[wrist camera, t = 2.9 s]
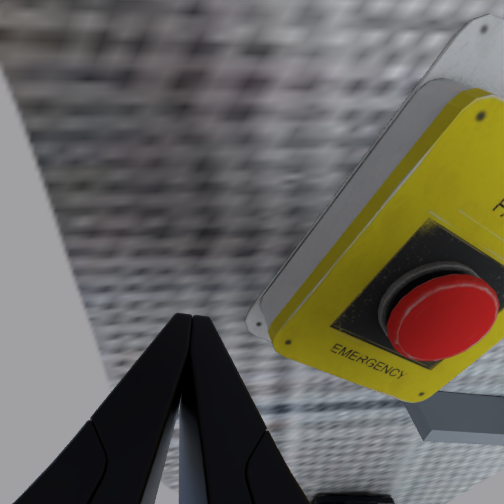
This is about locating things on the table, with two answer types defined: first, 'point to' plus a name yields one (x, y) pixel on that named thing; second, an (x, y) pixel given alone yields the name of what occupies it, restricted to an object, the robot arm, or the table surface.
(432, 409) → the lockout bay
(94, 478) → the robot arm
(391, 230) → the emergency button
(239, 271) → the table surface
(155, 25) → the table surface
